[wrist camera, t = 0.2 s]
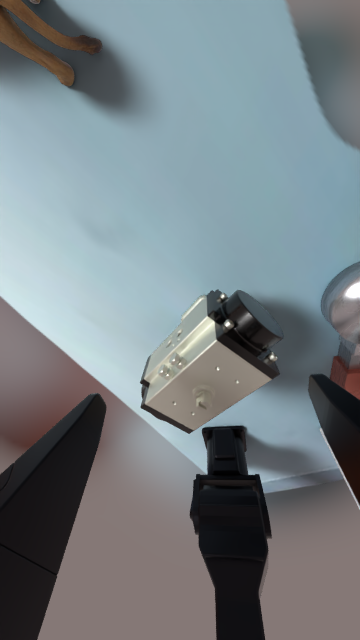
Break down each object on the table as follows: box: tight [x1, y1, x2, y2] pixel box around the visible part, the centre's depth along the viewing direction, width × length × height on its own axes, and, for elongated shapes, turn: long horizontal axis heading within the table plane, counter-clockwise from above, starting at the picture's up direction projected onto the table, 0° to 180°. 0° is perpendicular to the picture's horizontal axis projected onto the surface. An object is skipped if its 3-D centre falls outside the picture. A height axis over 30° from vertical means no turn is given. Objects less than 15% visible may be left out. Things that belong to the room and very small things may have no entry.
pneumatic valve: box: [140, 289, 284, 434], centre depth 19 cm, size 6×12×12 cm, turn 142°
